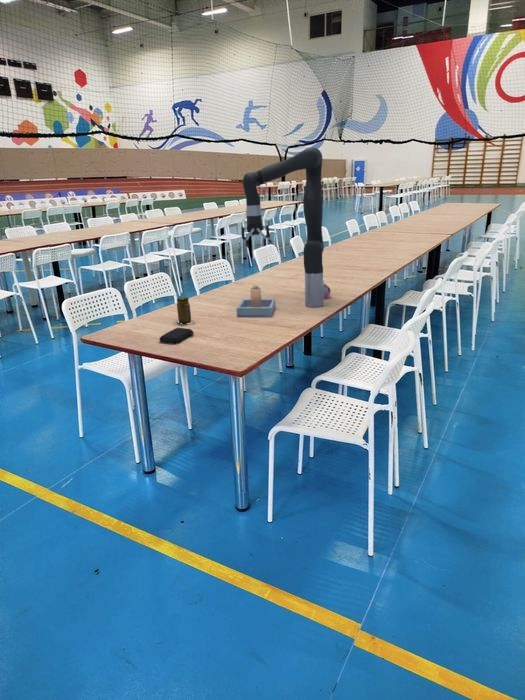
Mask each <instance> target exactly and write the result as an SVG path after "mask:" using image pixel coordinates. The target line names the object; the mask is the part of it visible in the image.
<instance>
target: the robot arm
mask: <svg viewBox="0 0 525 700" xmlns="http://www.w3.org/2000/svg"><path fill="white" fill-rule="evenodd" d="M322 169H323V154H322V151H321V150H320V149H319V148H317V147H306V148H305V149H303V150H302V151H300V152H298V153H297V154H295V155H293V156H291V157H289V158H287V159H284V160H281V161H278V162H275V163H271V164H270V165H267V166H265V167H263V168H261V169H259V170H256V171H253V172H247V173H245V174H244V175H243V177H242V187H243V191H244V194H245V203H246V213H245V214H246V222H247V223H246V226H245V227H244V226H241V240H244V241H245V246H246V247H247V248H250V245H249V244H250V243H249V239H250V237H251V236H255V235H256V236H259V235H261V237H262V238H263V239H262V240H263V243H262V244H263V245H262V246H263V247H266V246H267V239H268V238H270V228H269V225H268V224H266V225H263V213H262V207H261V196H260V194H259V193H258V189H257V187H261V186H262V185H264V184H267V183H269V182H272V181H276V180H278V179H280V178H282V177H284V176H286V175H289V174H290V173H293V172H297V171H299V170H300V171H301V170H305V177H306V178H305V180H306V181H305V187H304V191H303V197H302V199H303V200H302V202H303V203H302V204H303V205H302V206H303V207H302V208H303V215H304V220H305V225H306V230H307V231H306V233H307V235H306V243H305V245H304V246H303V268H304V306H305V307H309V308H318V307H323V306H324V299H323V281H324V266H323V253H324V251H325V250H324V249H325V247H324V246H325V244H324V238H323V228H322V227H323V210H324V209H323V187H322V186H323V185H322ZM263 230H265V231H266V235H265V234H264V232H262V231H263ZM246 231H247V232H248V233H247V235H246V236H245V232H246Z"/></svg>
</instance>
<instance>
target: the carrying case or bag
mask: <svg viewBox="0 0 525 700" xmlns="http://www.w3.org/2000/svg"><path fill="white" fill-rule="evenodd" d="M194 333H195V332H194V331H193V330H192V329H191V328H185V327H184V328H183V327H176V328H174V329H172V330H170V331H168V332H165V333H164V334H163V335H161V336H160V337H159V342H160V343H162V342H166V343H165V344H170V343H173V344H172V345H176V343H177V344H179V343H181V342H182V340H183V341H184V340H185V339H188V338H190V337H192V336H193V335H194ZM187 337H188V338H187ZM180 341H181V342H180ZM178 342H179V343H178Z"/></svg>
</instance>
